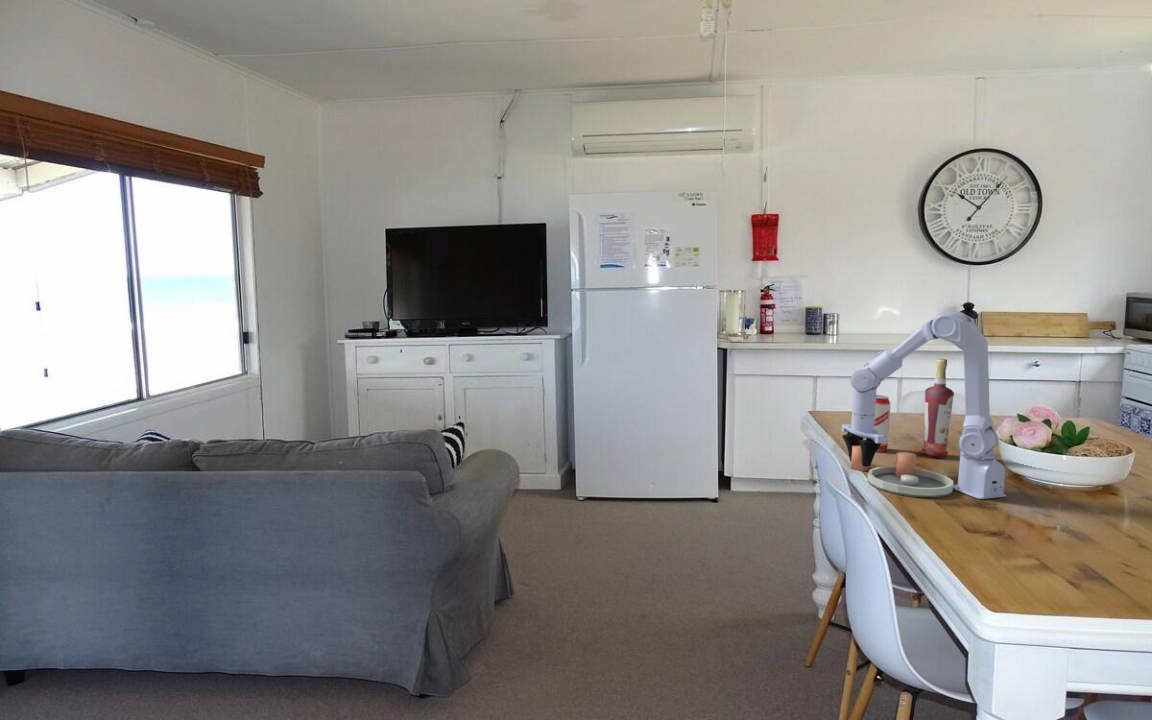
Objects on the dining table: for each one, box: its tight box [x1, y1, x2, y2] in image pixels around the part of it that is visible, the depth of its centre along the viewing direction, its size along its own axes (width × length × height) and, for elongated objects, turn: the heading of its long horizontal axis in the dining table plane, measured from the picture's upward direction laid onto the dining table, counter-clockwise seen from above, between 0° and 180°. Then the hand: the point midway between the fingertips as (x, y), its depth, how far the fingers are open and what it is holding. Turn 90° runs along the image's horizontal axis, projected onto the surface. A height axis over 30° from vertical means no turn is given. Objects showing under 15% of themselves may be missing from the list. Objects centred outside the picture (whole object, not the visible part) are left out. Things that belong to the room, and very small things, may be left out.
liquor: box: [921, 358, 955, 459], centre depth 205 cm, size 7×7×28 cm
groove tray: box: [867, 465, 954, 499], centre depth 178 cm, size 19×19×2 cm
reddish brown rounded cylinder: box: [850, 445, 870, 472], centre depth 192 cm, size 4×4×6 cm
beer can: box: [864, 394, 891, 453], centre depth 212 cm, size 6×6×16 cm
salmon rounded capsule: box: [895, 451, 917, 479], centre depth 183 cm, size 4×4×6 cm
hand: (860, 463), depth 193 cm, fingers closed on reddish brown rounded cylinder, 4 cm apart
